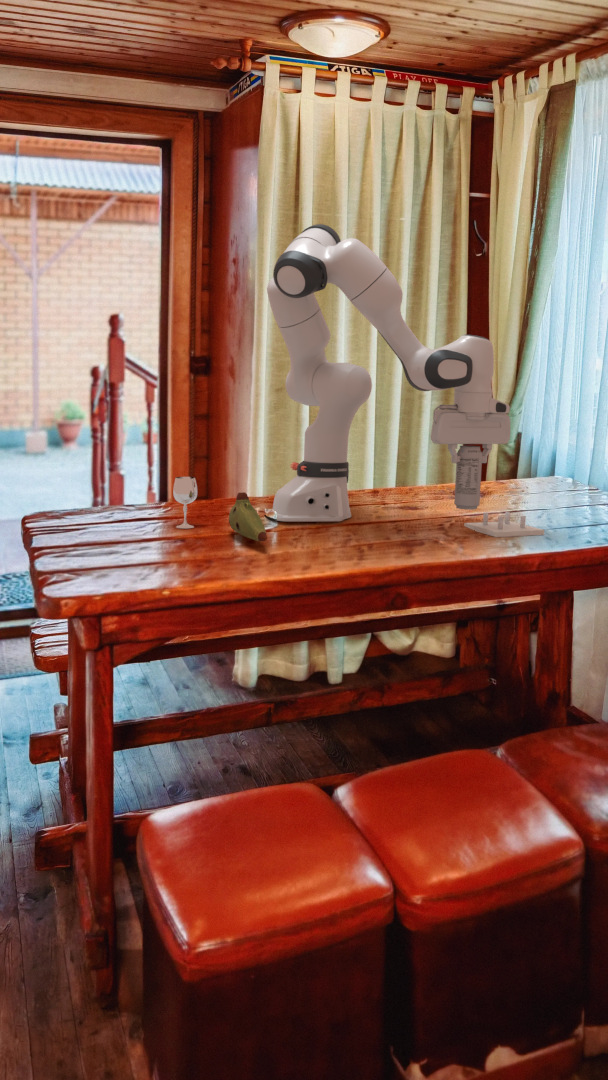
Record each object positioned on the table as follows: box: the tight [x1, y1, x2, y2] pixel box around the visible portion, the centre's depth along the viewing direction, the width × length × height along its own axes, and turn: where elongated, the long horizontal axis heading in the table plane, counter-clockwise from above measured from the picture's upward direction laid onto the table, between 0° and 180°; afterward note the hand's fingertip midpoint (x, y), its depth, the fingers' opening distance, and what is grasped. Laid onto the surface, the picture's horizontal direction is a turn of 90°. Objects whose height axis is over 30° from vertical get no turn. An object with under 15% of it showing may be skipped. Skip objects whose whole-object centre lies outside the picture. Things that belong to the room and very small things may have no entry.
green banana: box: [228, 491, 268, 542], centre depth 206 cm, size 20×5×10 cm, turn 27°
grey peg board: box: [463, 511, 545, 538], centre depth 224 cm, size 14×14×4 cm
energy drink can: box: [453, 445, 483, 511], centre depth 218 cm, size 6×6×15 cm
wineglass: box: [172, 476, 198, 529], centre depth 217 cm, size 6×6×12 cm
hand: (469, 463), depth 217 cm, fingers closed on energy drink can, 6 cm apart
